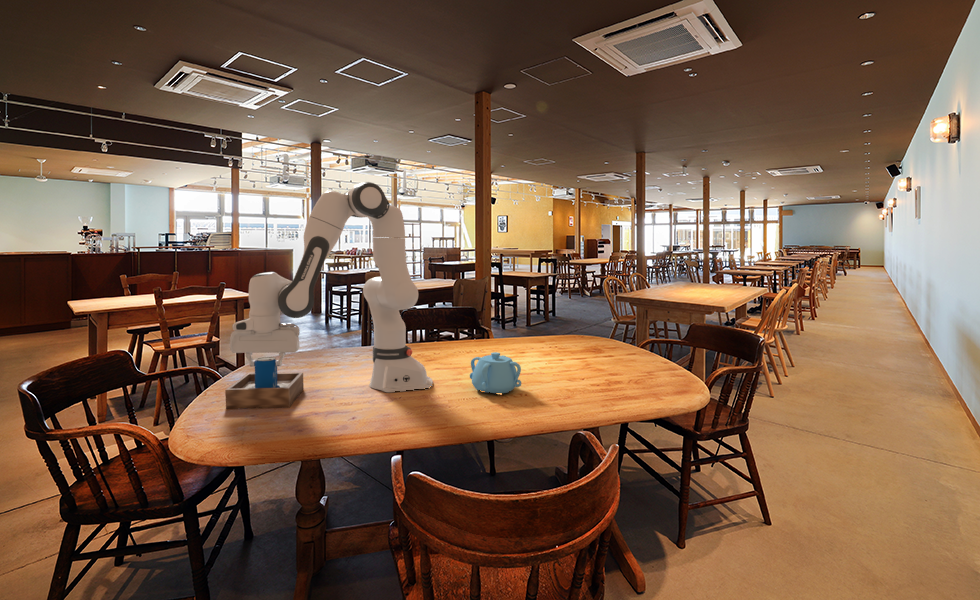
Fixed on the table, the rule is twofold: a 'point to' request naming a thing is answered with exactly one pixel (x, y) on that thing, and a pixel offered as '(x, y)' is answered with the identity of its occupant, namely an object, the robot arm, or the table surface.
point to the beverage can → (265, 372)
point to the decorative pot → (495, 373)
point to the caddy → (264, 392)
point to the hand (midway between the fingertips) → (265, 366)
